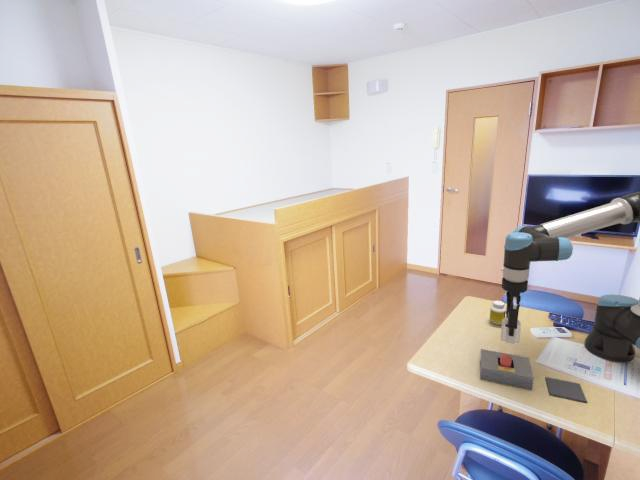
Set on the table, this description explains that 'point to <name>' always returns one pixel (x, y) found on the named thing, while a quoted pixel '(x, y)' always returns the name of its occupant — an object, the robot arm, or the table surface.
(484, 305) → the table surface
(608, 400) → the table surface
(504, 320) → the eye dropper bottle
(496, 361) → the grey flat block
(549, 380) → the mat
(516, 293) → the robot arm
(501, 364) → the plunger
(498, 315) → the pill bottle
